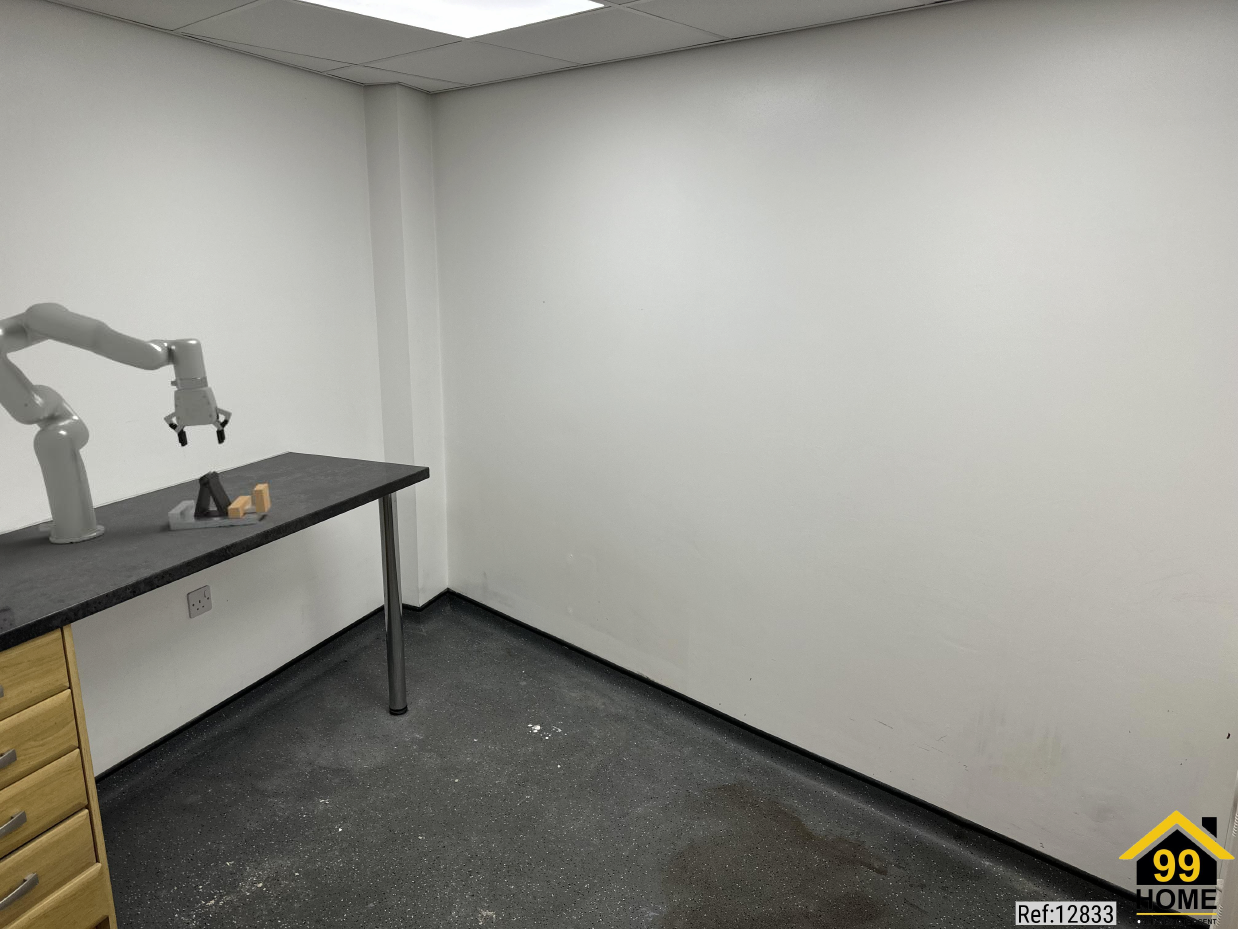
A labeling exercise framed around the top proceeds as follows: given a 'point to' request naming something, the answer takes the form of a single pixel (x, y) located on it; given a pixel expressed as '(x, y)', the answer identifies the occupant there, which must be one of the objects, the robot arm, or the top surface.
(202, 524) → the grey base plate
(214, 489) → the black triangular frame
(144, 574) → the top surface
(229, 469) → the top surface
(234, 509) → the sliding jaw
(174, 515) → the fixed jaw
